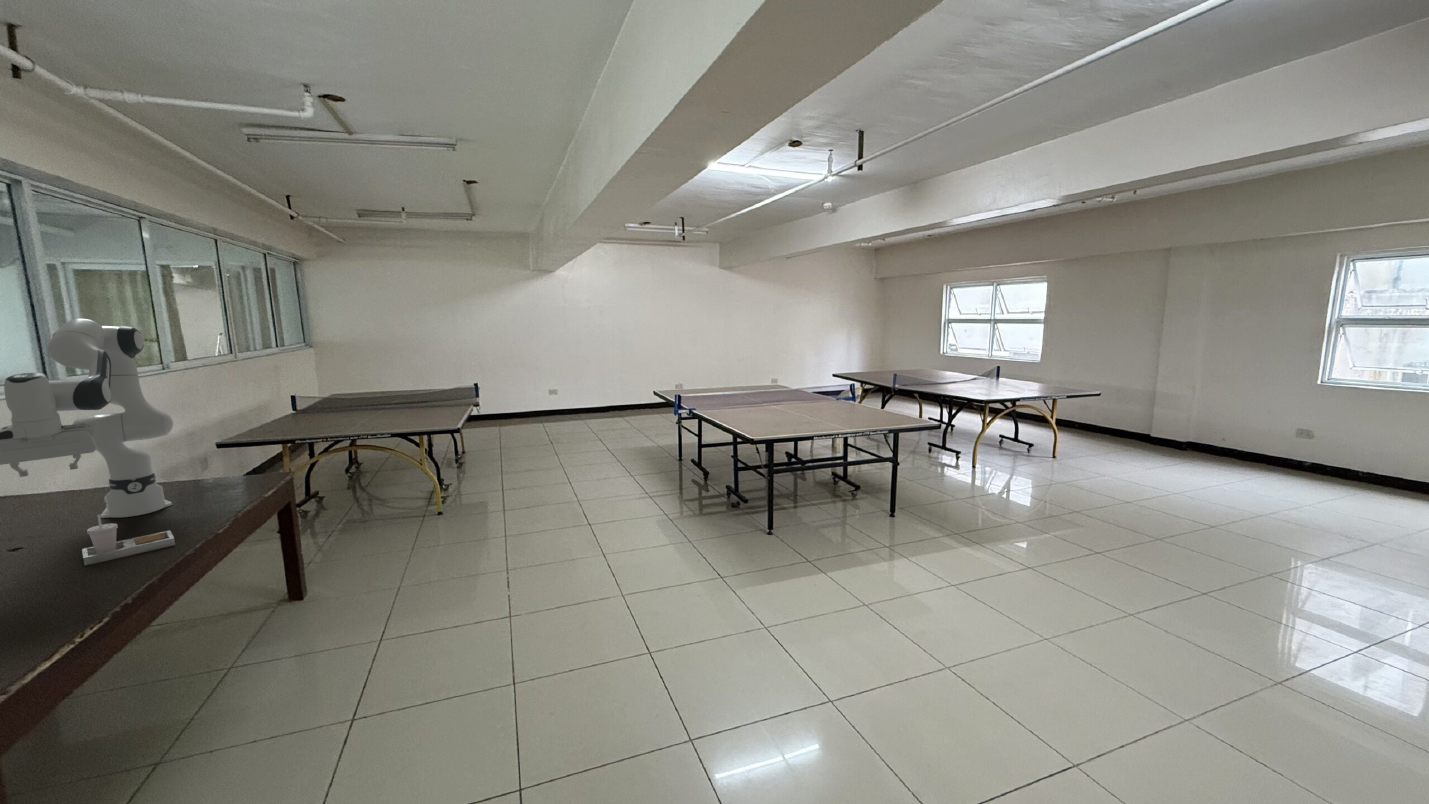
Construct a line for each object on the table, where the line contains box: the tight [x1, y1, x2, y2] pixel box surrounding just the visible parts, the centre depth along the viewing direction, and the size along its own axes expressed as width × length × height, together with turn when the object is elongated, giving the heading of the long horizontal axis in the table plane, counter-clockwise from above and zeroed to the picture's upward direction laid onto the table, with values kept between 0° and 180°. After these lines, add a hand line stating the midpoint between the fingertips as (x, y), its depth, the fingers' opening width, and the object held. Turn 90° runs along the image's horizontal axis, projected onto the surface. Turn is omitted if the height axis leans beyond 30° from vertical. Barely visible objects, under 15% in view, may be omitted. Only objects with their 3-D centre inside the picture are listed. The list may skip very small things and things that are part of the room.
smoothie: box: [86, 513, 119, 554], centre depth 166 cm, size 6×6×14 cm
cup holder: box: [81, 530, 176, 566], centre depth 171 cm, size 10×20×2 cm, turn 142°
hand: (49, 472), depth 158 cm, fingers open, 8 cm apart
